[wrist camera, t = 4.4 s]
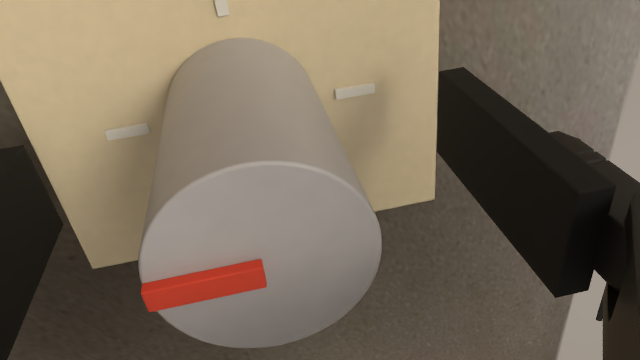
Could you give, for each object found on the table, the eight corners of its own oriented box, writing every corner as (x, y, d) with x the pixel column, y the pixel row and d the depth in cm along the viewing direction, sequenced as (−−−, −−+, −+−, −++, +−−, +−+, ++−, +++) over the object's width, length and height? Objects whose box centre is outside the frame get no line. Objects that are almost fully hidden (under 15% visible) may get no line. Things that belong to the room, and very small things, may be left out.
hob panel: (409, -106, 17) (445, -102, 14) (411, 164, 23) (436, 202, 20) (-14, -47, 16) (-59, -30, 13) (105, 224, 22) (91, 272, 19)
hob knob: (306, 25, 16) (383, 146, 9) (322, 159, 18) (391, 332, 11) (147, 51, 15) (96, 201, 8) (189, 184, 18) (176, 381, 11)
